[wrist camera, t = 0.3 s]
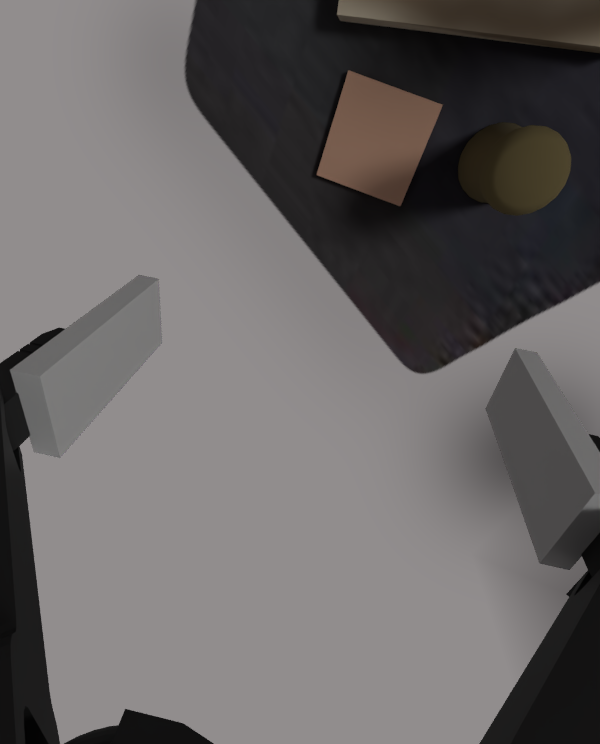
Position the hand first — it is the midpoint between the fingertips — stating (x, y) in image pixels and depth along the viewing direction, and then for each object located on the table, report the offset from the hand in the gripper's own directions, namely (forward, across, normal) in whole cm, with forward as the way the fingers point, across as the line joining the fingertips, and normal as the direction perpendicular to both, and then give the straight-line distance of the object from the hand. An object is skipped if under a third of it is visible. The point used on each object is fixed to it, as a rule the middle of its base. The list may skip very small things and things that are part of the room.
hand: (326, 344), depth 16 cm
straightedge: (+28, +6, +14) cm, 32 cm away
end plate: (+28, +1, +5) cm, 28 cm away
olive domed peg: (+27, +11, +5) cm, 30 cm away
